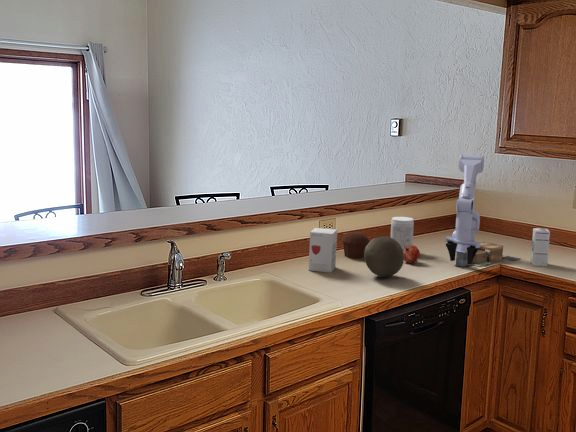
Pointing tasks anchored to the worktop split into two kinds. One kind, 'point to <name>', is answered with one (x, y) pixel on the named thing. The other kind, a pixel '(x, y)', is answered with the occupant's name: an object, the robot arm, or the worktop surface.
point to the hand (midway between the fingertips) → (460, 262)
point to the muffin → (355, 245)
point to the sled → (478, 258)
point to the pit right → (510, 258)
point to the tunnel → (492, 251)
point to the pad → (481, 264)
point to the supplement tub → (402, 230)
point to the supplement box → (322, 249)
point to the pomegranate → (411, 254)
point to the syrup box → (540, 247)
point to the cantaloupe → (384, 256)
